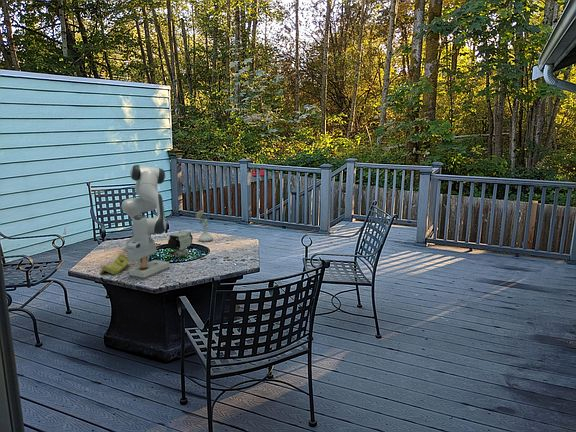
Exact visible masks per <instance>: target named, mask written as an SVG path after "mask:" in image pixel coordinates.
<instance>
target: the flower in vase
mask: <svg viewBox="0 0 576 432" xmlns="http://www.w3.org/2000/svg"><path fill="white" fill-rule="evenodd" d="M203 214H204V210H202V209H201V210H199V211H198V212H196V214H195V219H197V220H198V219H200V218H201V219H200V220H198V222H197V223H198V224H201V225H202V227H203V233H202V234H201V235H200V236H199V237H198V241H200V242H211V241H213V239H214V238H213V236H212V235H211V234H210V233H209V232H208V231H207V230H208V224H209V223H208V218H205V219H203V217H202V216H203Z"/></svg>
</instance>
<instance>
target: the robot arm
mask: <svg viewBox="0 0 576 432" xmlns="http://www.w3.org/2000/svg"><path fill="white" fill-rule="evenodd" d="M129 174H130V179H132V180H133V181H135V187H134V191H135V194H136V195H137V196H139V197H131V198H130V197H129V198H127V199H125V200H123V201H122V203H121V209H122V211H123V213H124V214H126V215H127V216H128V217H130V219H131V221H132V222H131V224H132V225H131V226H132V227H131V229H132V232H131V235H132V236H131V237H130V238H129V239H128V240H127V241H126V243H125V247H123V248H122V250H123V251H125V252H126V257H127V258H128V260H129V261H130V262H135V261H136V263H137V266H141V265H142V263H141V262H140V259H141V258H143V257H146V260H147V263H148V262H149V259H150V256H151V255H154V254H156V253H157V246H156V243H155V240H154V239H153V238H152V236H151V235H152V234H155V235H156V234H157V235H162V234H164V232H166V230H167V222H166V218H165V217H166V215H165V207H164V199H163V197H162V195H161V194H160V193H159V191H158V185H161V184H163V183H164V181H165V180H166V171H165V170H164V169H162V168H158V167H155V166H148V165H139V164H134V165H133V166H132V167H131V169H130V172H129ZM154 210H156V217H147V216H146V215H145V214H142V213H145V212H151V211H154Z"/></svg>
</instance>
